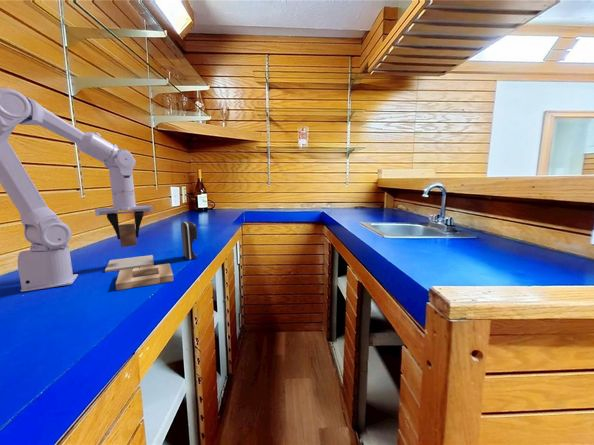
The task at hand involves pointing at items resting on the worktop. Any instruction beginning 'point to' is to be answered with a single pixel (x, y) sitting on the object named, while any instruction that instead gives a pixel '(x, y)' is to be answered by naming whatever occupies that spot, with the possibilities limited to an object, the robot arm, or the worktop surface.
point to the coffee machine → (188, 238)
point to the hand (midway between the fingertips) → (128, 237)
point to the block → (127, 235)
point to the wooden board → (127, 280)
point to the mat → (129, 263)
